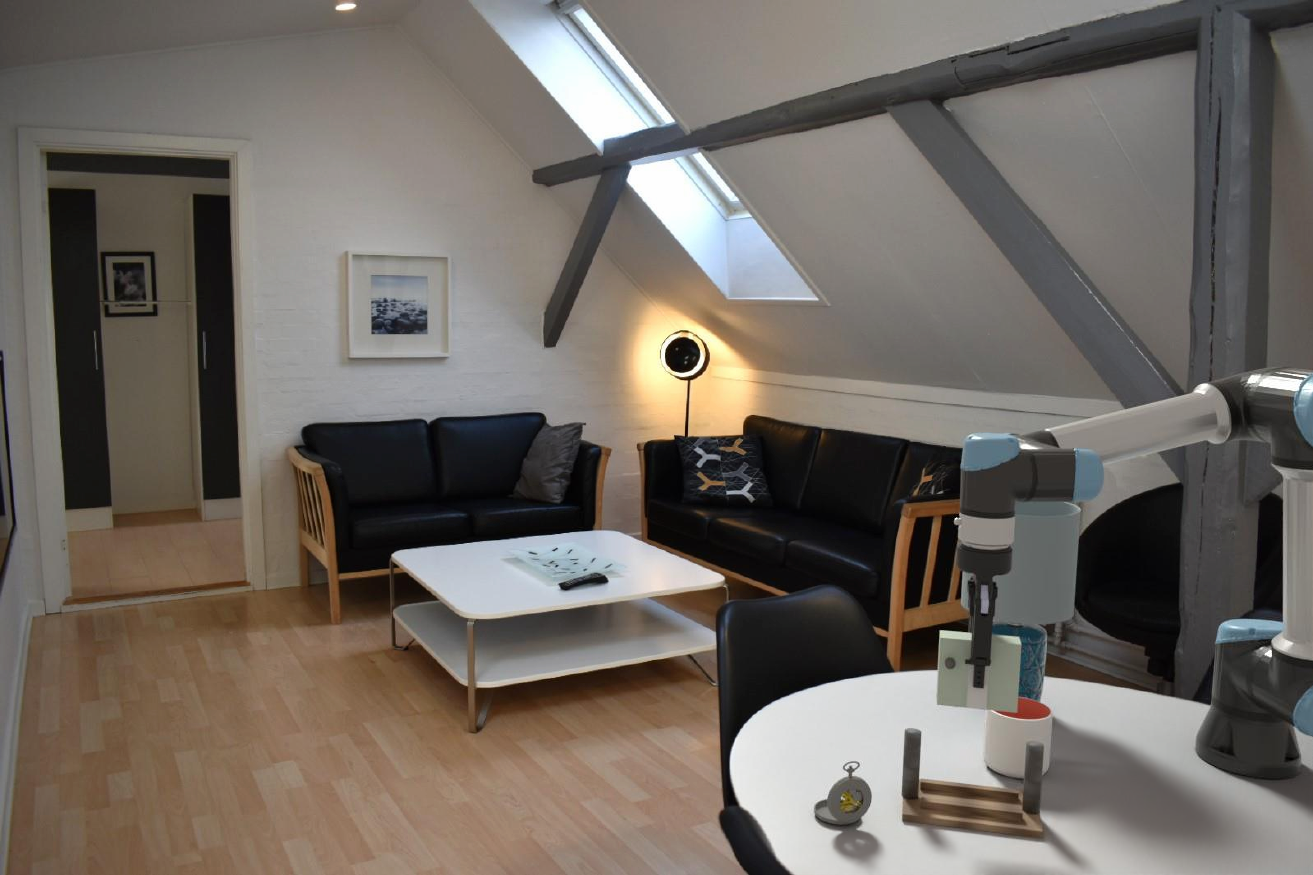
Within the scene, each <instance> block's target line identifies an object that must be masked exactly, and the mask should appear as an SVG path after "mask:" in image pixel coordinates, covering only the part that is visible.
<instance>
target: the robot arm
mask: <svg viewBox="0 0 1313 875" xmlns="http://www.w3.org/2000/svg"><path fill="white" fill-rule="evenodd" d="M1203 441H1208V442H1209V443H1211V444H1214V445H1219V444H1224V443H1227V442H1234V441H1252V442H1253V441H1254V442H1262V443H1266V444H1270V465H1271V466H1272V467H1273V468H1274V469H1275V470H1276V471H1278V473H1280V474H1281V475H1282V479H1283V480H1282V481H1283V483H1282V487H1283V488H1282V490H1283V491H1282V501H1283V502H1282V512H1283V513H1282V514H1283V515H1282V522H1283V523H1282V558H1283V559H1282V621H1275V620H1267V619H1258V618H1257V619H1255V618H1253V619H1251V618H1249V619H1248V618H1239V619H1238V618H1237V619H1235V618H1234V619H1229V620H1225V621H1224V622H1222V623H1221V624H1220V625H1219V626H1218V629H1217V635H1216V639H1215V641H1214V646H1215V653H1214V663H1213V664H1214V665H1213V677H1212V689H1211V702H1210V707H1209V709H1208V711H1207V713H1206V715H1205V717H1204V719H1203V720H1202V723H1201V725H1200V727H1199V728H1198V729H1199V730H1197V734H1196V736H1195V744H1194V750H1195V752H1196V754H1197V756H1199V757H1200V758H1201V759H1202V760H1204V761H1205V762H1207V763H1209V764H1211V765H1213V766H1214V767H1217V768H1220V769H1222V770H1224V771H1227V772H1230V773H1234V774H1238V775H1242V776H1247V777H1252V778H1257V779H1258V778H1259V779H1270V780H1271V779H1272V780H1274V779H1276V780H1280V779H1286V778H1291V777H1295V776H1297V775H1298V774H1299V773H1300V772H1301V767H1302V753H1301V749H1300V745H1299V741H1298V739H1297V734H1296V730H1297V731H1298V732H1300V733H1301V734H1303V735H1305V736H1309V737H1312V738H1313V369H1306V368H1305V369H1304V368H1294V367H1286V366H1273V367H1271V366H1270V367H1265V368H1258V369H1255V370H1250V371H1246V372H1242V373H1238V374H1234V375H1231V376H1228V377H1224V378H1220V379H1216V380H1212V381H1207V382H1204V383H1201V384H1198V385H1197V386H1196V387H1195V388H1194V389H1193V391H1192V392H1190V393H1187V394H1183V395H1179V396H1175V397H1171V398H1170V397H1169V398H1166V399H1162V400H1158V401H1154V402H1150V403H1145V404H1143V405H1137V406H1134V407H1130V408H1127V409H1122V410H1118V411H1115V412H1110V413H1106V414H1102V415H1097V416H1095V417H1090V418H1085V419H1081V420H1077V421H1074V422H1069V423H1065V424H1062V425H1058V426H1054V427H1053V426H1052V427H1049V428H1046V429H1041V430H1036V431H1033V432H1028V433H1025V434H1024V433H1023V434H1019V433H1013V432H1010V433H1009V432H1005V433H992V432H977V433H972V434H969V435H968V436H967V437H965V439H964V441H963V448H962V454H961V463H960V466H959V467H960V468H959V469H960V490H959V491H960V494H959V509H958V510H959V512H958V514H959V517H956V518H954V520H953V523H954V525H955V526H958V528H957V530H958V532H957V538H958V539H959V540H960V541H958V543H957V545H956V558H955V561H956V563H955V566H956V568H957V569H958V570H960V571H962V573H963V572H966V573H973V576H971V578H970V580H968V582H967V591H968V608H969V611H968V613H969V614H968V629H967V630H968V632H967V633H972V639H971V658H970V660H969V659H965V664H969V670H968V687H967V705H966V706H967V709H974V708H977V710H984V709H987V693H988V676H989V666H990V664H991V660H990V657H991V642H992V627H993V620H994V619H993V617H994V616H995V600H996V599H997V596H998V587H997V586H996V582H993V577H994V576H996V575H999V576H1001V575H1006V574H1008V573H1009V572H1010V571H1011V568H1012V551H1013V549H1012V548H1011V546H1010V544H1012V543H1013V541H1014V526H1015V506H1016V502H1068V503H1071V504H1074V503H1081V502H1091V501H1094V500H1096V499H1097V498H1098V497H1099V495H1100V494H1101V492H1102V489H1103V487H1104V481H1105V469H1104V466H1106V465H1110V464H1114V463H1119V462H1123V461H1126V460H1131V459H1135V458H1139V457H1142V456H1147V455H1151V454H1155V453H1156V454H1157V453H1159V452H1160V453H1161V452H1163V451H1168V450H1172V449H1175V448H1178V447H1179V448H1180V447H1183V446H1184V447H1185V446H1187V445H1192V444H1196V443H1201V442H1203ZM1295 728H1296V730H1295Z"/></svg>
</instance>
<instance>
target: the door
mask: <svg viewBox="0 0 1313 875" xmlns="http://www.w3.org/2000/svg"><path fill="white" fill-rule="evenodd" d="M971 639H972V633H968V632H963V631H954V630H953V631H952V630H940V629H939V640H938V641H939V642H938V654H937V656H938V658H937V679H936V680H937V681H936V692H935V693H936V696H935V698H936V706H945V707H955V708H957V707H958V708H967V706H966V705H967V687H968V670H969V664H965V659H969V660H970V658H971ZM990 660H991V664H990V666H989V676H988V693H987V709H983V710H985V711H986V710H994V711H1004V712H1014V713H1017V707H1018V691H1019V676H1020V660H1021V642H1020V638H1019V637H1014V636H1002V635H992V642H991V657H990ZM967 709H968V708H967ZM973 709H974V710H975V709H977V708H973ZM977 710H978V709H977Z"/></svg>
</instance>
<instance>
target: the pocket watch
mask: <svg viewBox="0 0 1313 875" xmlns="http://www.w3.org/2000/svg"><path fill="white" fill-rule="evenodd" d="M853 763H854V764H857V766H856V767H853V766H852V765H849V764H853ZM860 764H861V763H860V762H858V761H856V760H855V761H854V760H853V761H852V760H851V761H848V762H846V763H844V765H843V766H842V770H843V771H846V772H847V775H848V776H847V775H846V776H844V777H842V778H840V779H839V780H838V781H836V782H835V783H834V784H833V785H832V787H831V788H830V789H829V791H828V795H827V798H826V799H822V800H819V801H817V802H816V803H815V804H814V806H813V813H814V815H815V816H816V817H817V818H818V819H820V820H821V821H822V822H823V821H824V822H826V823H828V824H831V825H841V826H842V825H849V824H854V823H855V822H857V821H859V820H860V819H862V817H864V816H865V815H866V813H867V812H868V810H869V809H870V807H871V804H872V799H873V793H872V790H871V788H870V786H869V783H867V781H866V780H865V779H863V778H862V777H861V776H857V775H853V773H855V771H856V770H857V769H858V768H859V767H860V766H861V765H860ZM847 765H849V766H848V768H845V767H847Z"/></svg>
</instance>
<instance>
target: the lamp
mask: <svg viewBox="0 0 1313 875" xmlns="http://www.w3.org/2000/svg"><path fill="white" fill-rule="evenodd" d="M1081 509H1082V508H1080V507H1079V506H1078V505H1076V504H1074V503H1071V502H1016V506H1015V526H1014V541H1013V543H1012V544H1010V546H1011V548H1012V549H1013V551H1012V568H1011V571H1010V572H1009V573H1008V574H1006V575H1001V576H999V575H996V576H994V577H993V582H996V586H997V587H998V596H997V599H996V600H995V616H994V617H993V627H992V635H1002V636H1014V637H1019V638H1020V642H1021V660H1020V676H1019V691H1018V697H1023V698H1028V699H1032V700H1035V701H1038V702H1041V701H1042V695H1043V690H1044V689H1043V688H1044V682H1045V681H1044V680H1045V672H1046V661H1047V646H1048V632H1047V630H1046V629H1045V628H1044V627H1043V626H1041V625H1052V624H1059V623H1064V622H1066V621H1069V620H1071V619H1073V617H1074V614H1075V613H1074V610H1075V599H1076V597H1075V596H1076V583H1077V570H1078V569H1077V568H1078V555H1079V554H1078V553H1079V540H1080V527H1081V526H1080V525H1081V511H1082V510H1081ZM971 576H973V573H966V572H963V571H962V578H961V579H962V580H961V592H960V593H961V596H960V597H961V598H960V605H961V606H962V608H963V609H965V610H966V611H968V612H969V608H968V591H967V582H968V580H970V578H971Z"/></svg>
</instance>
